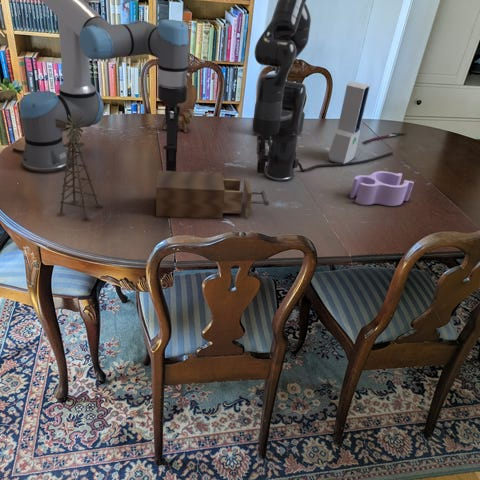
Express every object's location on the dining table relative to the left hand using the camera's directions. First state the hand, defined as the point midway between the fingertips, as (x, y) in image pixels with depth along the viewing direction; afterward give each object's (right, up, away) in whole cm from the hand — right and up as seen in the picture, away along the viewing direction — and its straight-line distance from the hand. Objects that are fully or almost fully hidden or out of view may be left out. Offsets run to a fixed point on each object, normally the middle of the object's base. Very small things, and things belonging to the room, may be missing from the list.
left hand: (171, 160), depth 134 cm
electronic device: (+60, +10, +54) cm, 81 cm away
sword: (+86, +23, +79) cm, 119 cm away
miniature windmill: (-27, -14, +2) cm, 31 cm away
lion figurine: (-7, +24, +64) cm, 69 cm away
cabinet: (+4, -13, +9) cm, 16 cm away
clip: (+67, -8, +27) cm, 73 cm away
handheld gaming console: (+36, +24, +72) cm, 84 cm away
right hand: (+26, -3, +5) cm, 26 cm away
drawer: (+16, -13, +10) cm, 23 cm away
